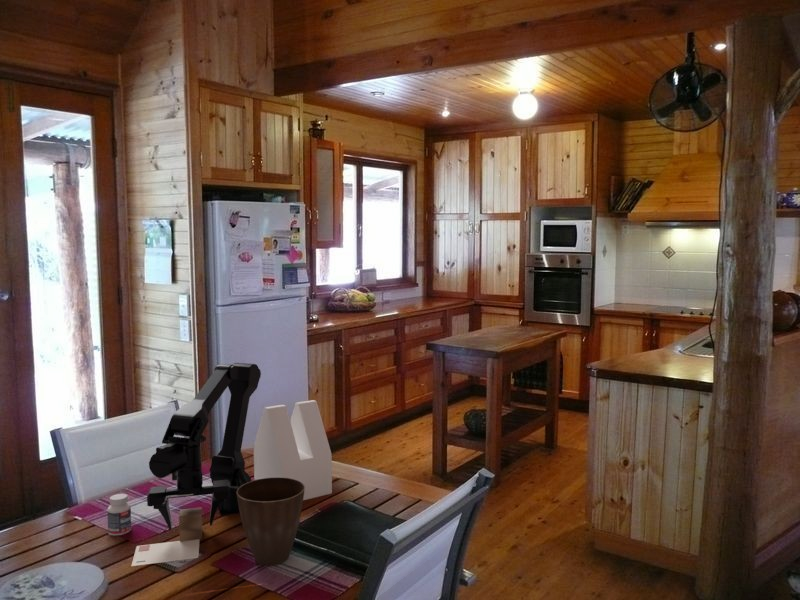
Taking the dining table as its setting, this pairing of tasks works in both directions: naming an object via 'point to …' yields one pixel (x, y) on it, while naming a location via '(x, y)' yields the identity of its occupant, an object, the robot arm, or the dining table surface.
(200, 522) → the walnut block
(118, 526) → the pill bottle
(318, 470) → the white forked block
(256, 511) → the plant pot
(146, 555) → the letter
